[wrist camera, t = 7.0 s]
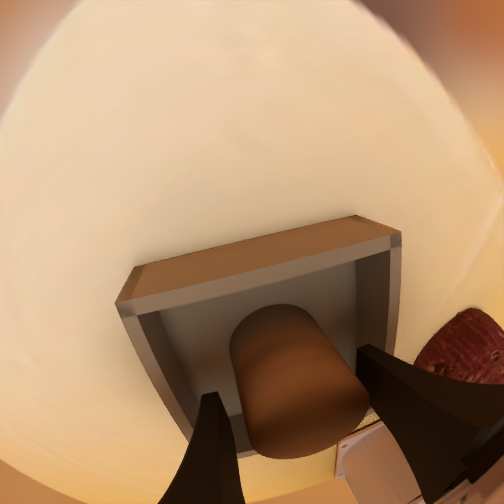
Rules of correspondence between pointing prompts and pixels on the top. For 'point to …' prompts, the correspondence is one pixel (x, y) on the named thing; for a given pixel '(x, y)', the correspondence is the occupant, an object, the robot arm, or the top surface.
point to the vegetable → (466, 349)
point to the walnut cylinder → (293, 384)
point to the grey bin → (259, 306)
